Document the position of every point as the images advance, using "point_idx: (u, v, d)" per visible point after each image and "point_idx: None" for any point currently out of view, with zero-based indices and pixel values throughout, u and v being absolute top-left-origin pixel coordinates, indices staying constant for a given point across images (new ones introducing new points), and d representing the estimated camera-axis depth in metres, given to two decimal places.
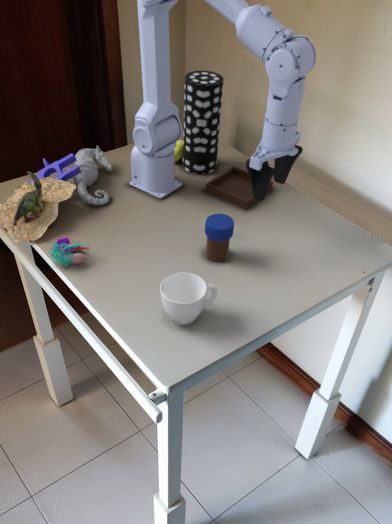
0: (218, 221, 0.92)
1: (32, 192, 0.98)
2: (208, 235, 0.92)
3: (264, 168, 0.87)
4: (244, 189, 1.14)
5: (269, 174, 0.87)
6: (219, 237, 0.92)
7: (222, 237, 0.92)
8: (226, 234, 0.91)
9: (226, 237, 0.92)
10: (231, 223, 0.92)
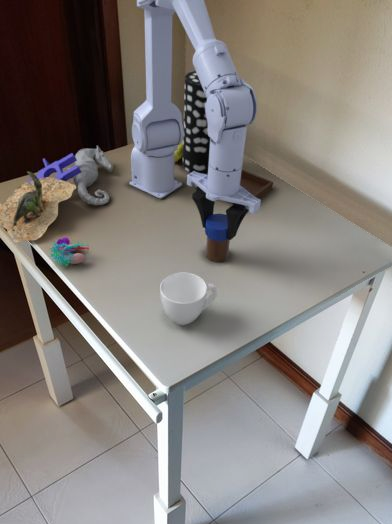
0: (218, 221, 0.92)
1: (32, 192, 0.98)
2: (208, 235, 0.92)
3: (199, 192, 0.89)
4: None
5: (192, 196, 0.89)
6: (219, 237, 0.92)
7: (222, 237, 0.92)
8: (226, 234, 0.91)
9: (226, 237, 0.92)
10: None
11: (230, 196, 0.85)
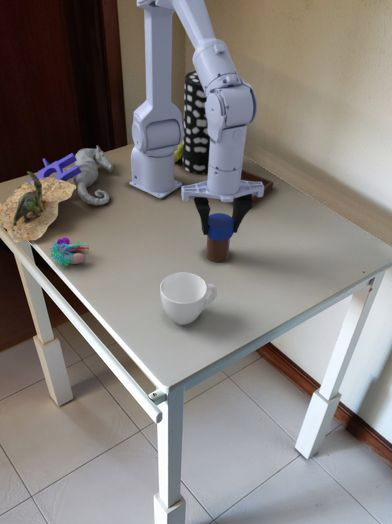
0: (219, 221, 0.92)
1: (32, 192, 0.98)
2: (218, 238, 0.92)
3: (199, 202, 0.87)
4: None
5: (198, 209, 0.86)
6: (229, 234, 0.92)
7: (231, 233, 0.92)
8: (233, 229, 0.93)
9: (233, 231, 0.93)
10: (229, 217, 0.93)
11: (239, 190, 0.86)
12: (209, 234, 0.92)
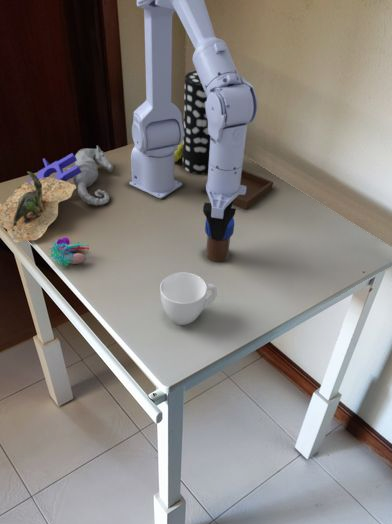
0: None
1: (32, 192, 0.98)
2: (232, 233, 0.93)
3: (225, 211, 0.85)
4: None
5: (232, 215, 0.85)
6: None
7: None
8: None
9: None
10: None
11: None
12: (225, 236, 0.92)
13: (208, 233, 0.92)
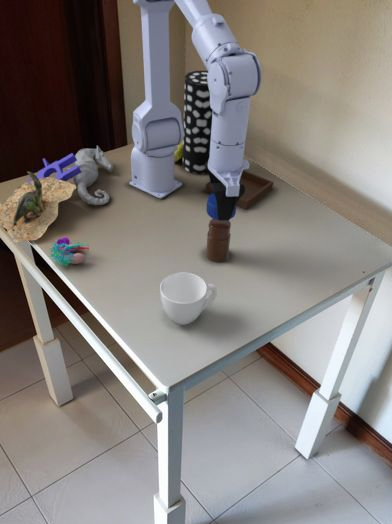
0: None
1: (32, 192, 0.98)
2: (235, 211, 0.91)
3: None
4: None
5: (244, 191, 0.83)
6: None
7: None
8: None
9: None
10: None
11: None
12: None
13: (213, 215, 0.89)
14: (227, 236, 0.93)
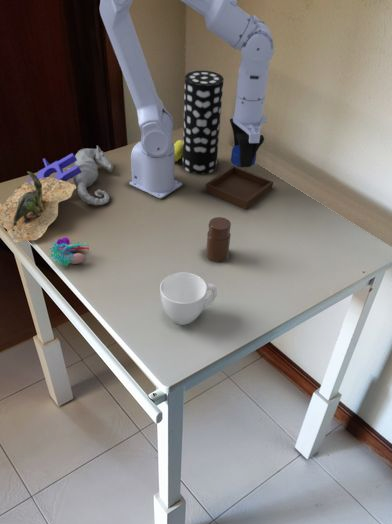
0: None
1: (32, 192, 0.98)
2: None
3: None
4: (244, 189, 1.14)
5: (263, 140, 1.01)
6: None
7: None
8: None
9: None
10: (238, 145, 1.08)
11: None
12: None
13: (236, 163, 1.07)
14: (227, 236, 0.93)
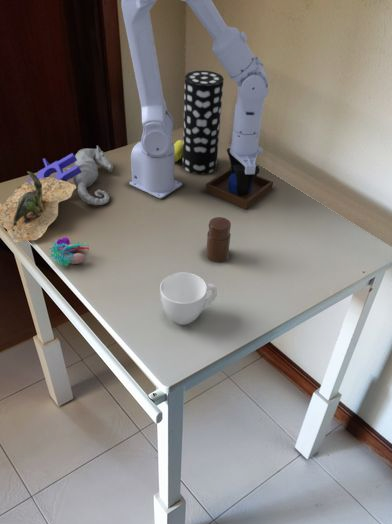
0: None
1: (32, 192, 0.98)
2: (251, 187, 1.13)
3: None
4: None
5: (258, 171, 1.06)
6: None
7: None
8: None
9: None
10: (235, 174, 1.13)
11: None
12: None
13: (233, 191, 1.12)
14: (227, 236, 0.93)
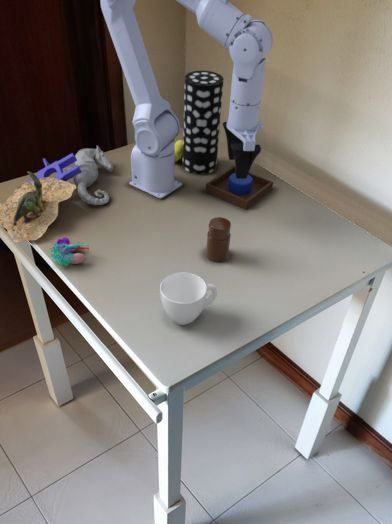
0: None
1: (32, 192, 0.98)
2: (251, 187, 1.13)
3: None
4: None
5: (260, 150, 0.94)
6: None
7: None
8: None
9: None
10: None
11: None
12: (248, 190, 1.12)
13: (233, 191, 1.12)
14: (227, 236, 0.93)
